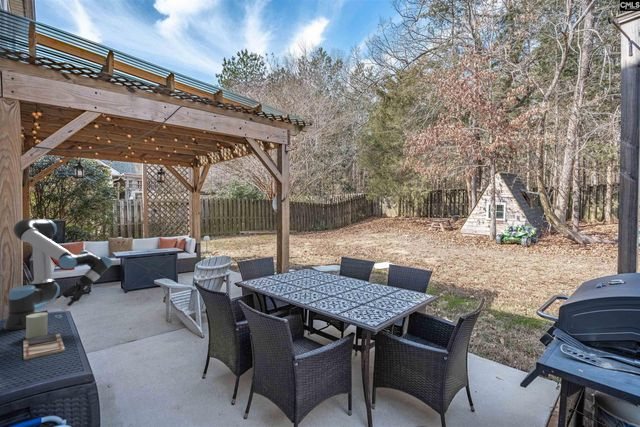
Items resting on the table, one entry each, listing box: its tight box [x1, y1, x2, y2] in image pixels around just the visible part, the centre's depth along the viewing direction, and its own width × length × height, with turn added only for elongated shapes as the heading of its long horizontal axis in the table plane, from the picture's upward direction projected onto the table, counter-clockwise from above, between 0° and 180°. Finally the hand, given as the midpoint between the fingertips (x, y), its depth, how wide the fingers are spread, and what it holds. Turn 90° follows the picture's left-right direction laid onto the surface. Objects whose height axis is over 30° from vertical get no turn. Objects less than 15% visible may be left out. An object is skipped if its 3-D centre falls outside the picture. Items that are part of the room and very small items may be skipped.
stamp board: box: [22, 332, 66, 361], centre depth 163 cm, size 28×15×2 cm, turn 44°
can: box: [24, 312, 49, 340], centre depth 177 cm, size 9×9×12 cm
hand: (58, 308), depth 184 cm, fingers open, 13 cm apart
